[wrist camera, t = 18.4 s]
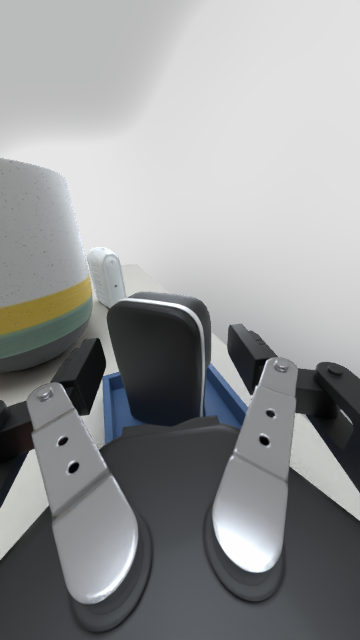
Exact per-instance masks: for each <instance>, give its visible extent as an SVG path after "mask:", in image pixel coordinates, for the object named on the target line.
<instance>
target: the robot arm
mask: <svg viewBox="0 0 360 640" xmlns="http://www.w3.org/2000/svg"><path fill="white" fill-rule="evenodd" d="M227 348H228V353H229V356H230V358H231V360H232V362H233V363H234V365H235V367H236V369H237V371H238V373H239V375H240V376H241V378H242V380H243V382H244V384H245V386H246V388H247V390H248V391H249V393H250V395H253V396H252V399H251V402H250V405H249V407H248V410H247V413H246V416H245V419H244V422H243V425H242V427H241V429H239V428H237V427H235V426H232V425H229V424H225V423H220V422H219V419H218V416H217V415H212V416H205V417H197V418H193V419H190V420H188V421H185V422H183V423H180V424H177V425H175V426H172V427H167V426H159V425H150V424H144V425H136V426H128V427H123V430H122V436H120V437H117V438H115V439H113V440H112V441H110V442H108V443H107V444H106V445H104V446H103V447H102V448H101V449H99V450H98V448H97V446H96V445H95V443H94V441H93V439H92V437H91V436H90V434H89V432H88V430H87V428H86V426H85V425H84V423H83V421H82V419H81V417H80V416H83V415H89V414H90V411H91V408H92V405H93V402H94V400H95V397H96V394H97V391H98V388H99V385H100V383H101V380H102V377H103V374H104V371H105V368H106V359H105V355H104V352H103V348H102V345H101V342H100V339H99V338H93V339H85V340H84V341H83V343H82V345H81V346H80V348H76V349H75V350H74V351H72V352H71V353H70V354H69V355H68V357H67V358H66V360H65V361H64V363H63V364H62V366H61V367H60V369H59V370H58V372H57V373H56V375H55V376H54V378H53V379H52V381H51V382H50V383H48V384H45V385H43V386H40V387H39V388H37V389H36V390H34V391H33V392H32V393H31V394H30V395H29V396H28V398H27V401H24V402H21V403H18V404H15V405H12V406H9V407H7V406H6V404H5V403H4V401H2V400H0V508H1V506H2V504H3V502H4V500H5V498H6V496H7V494H8V492H9V490H10V488H11V486H12V484H13V482H14V480H15V478H16V476H17V474H18V472H19V470H20V468H21V466H22V464H23V462H24V460H25V458H26V456H27V454H28V452H29V451H30V450H32V449H35V451H36V454H37V458H38V462H39V466H40V470H41V474H42V478H43V482H44V486H45V490H46V493H47V497H48V501H49V506H48V507H47V508H46V509H45V511H44V512H43V513H42V514H41V515H40V516H39V517H38V518H37V520H36V521H35V522H34V523H33V524H32V525H31V526H30V527H29V529H28V530H27V531H26V532H25V533H24V534H23V535H22V536H21V538H20V539H19V540H18V541H17V542H16V543H15V544H14V545H13V547H12V548H11V549H10V550H9V551H8V552H7V553H6V554H5V556H4V557H3V558H2V559H1V560H0V640H360V521H359V520H358V519H357V518H355V517H354V516H353V515H351V514H350V513H349V512H348V511H346V510H345V509H344V508H342V507H341V506H340V505H338V504H337V503H336V502H335V501H333V500H332V499H331V498H329V497H328V496H327V495H326V494H324V493H323V492H322V491H320V490H319V489H318V488H317V487H315V486H314V485H313V484H311V483H310V482H309V481H308V480H306V479H305V478H304V477H302V476H301V475H300V474H299V473H297V472H296V471H295V470H293V469H292V468H291V467H290V466H289V464H290V454H291V445H292V436H293V427H294V418H295V413H301V414H306V416H307V417H308V419H309V420H310V422H311V423H312V425H313V426H314V427H315V429H316V430H317V432H318V433H319V435H320V436H321V438H322V439H323V440H324V442H325V443H326V445H327V446H328V448H329V449H330V450H331V452H332V453H333V455H334V456H335V458H336V459H337V461H338V462H339V463H340V465H341V466H342V468H343V469H344V471H345V472H346V474H347V475H348V476H349V478H350V479H351V481H352V482H353V484H354V485H355V487H356V488H357V489H358V491H359V492H360V379H359V378H358V377H357V376H355V375H354V374H353V373H352V372H351V371H349V370H348V369H347V368H345V367H343V366H341V365H338V364H335V363H331V362H321V363H319V364H318V365H317V366H316V370H307V369H299V368H297V366H296V365H295V364H294V363H293V362H291V361H290V360H287V359H285V358H279V357H278V356H277V355H276V354H275V353H274V352H273V351H272V350H271V349H270V348H269V346H268V345H266V343H265V342H264V341H263V340H262V339H261V337H260V336H259V335H258V334H256V333H254V332H253V331H248V330H247V329H246V328H245V327H244V326H243V324H235V325H230V326H229V329H228V344H227ZM341 409H342V410H343V411H344V413H345V414H346V415H347V416H348V417H349V418H350V420H351V421H352V423H353V425H352V424H351V423H350V422H349V421H348V419H347V418H346V417H345V416H344V415H343V414H342V413H341V411H340V410H341Z"/></svg>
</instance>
